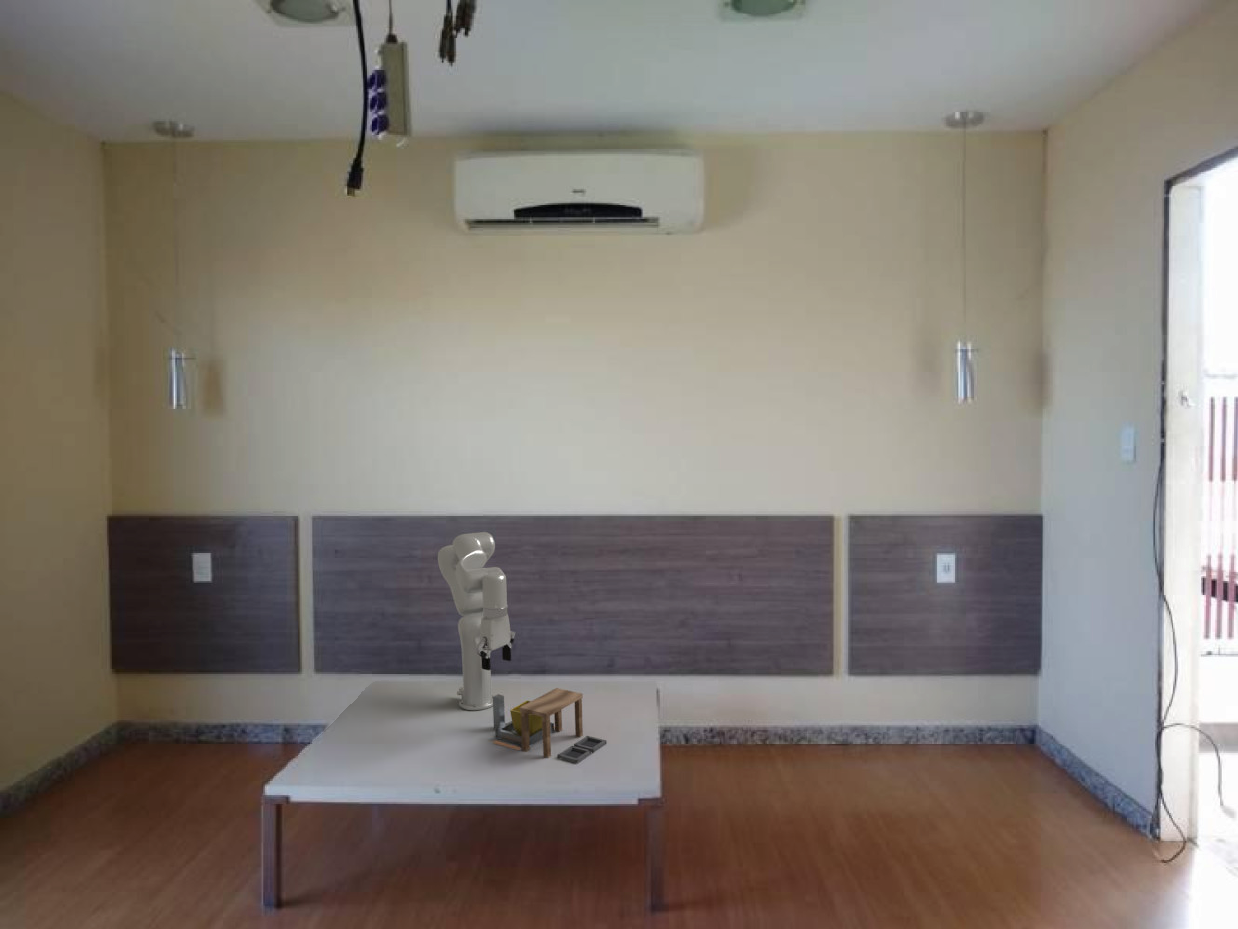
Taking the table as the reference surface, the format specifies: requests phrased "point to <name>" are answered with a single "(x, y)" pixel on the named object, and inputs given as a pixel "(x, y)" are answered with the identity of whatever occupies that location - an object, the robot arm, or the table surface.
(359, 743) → the table surface
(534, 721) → the flower pot
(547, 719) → the small wooden table
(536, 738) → the grey tray with upright
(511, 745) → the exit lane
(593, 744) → the frames
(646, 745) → the table surface
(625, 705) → the table surface
